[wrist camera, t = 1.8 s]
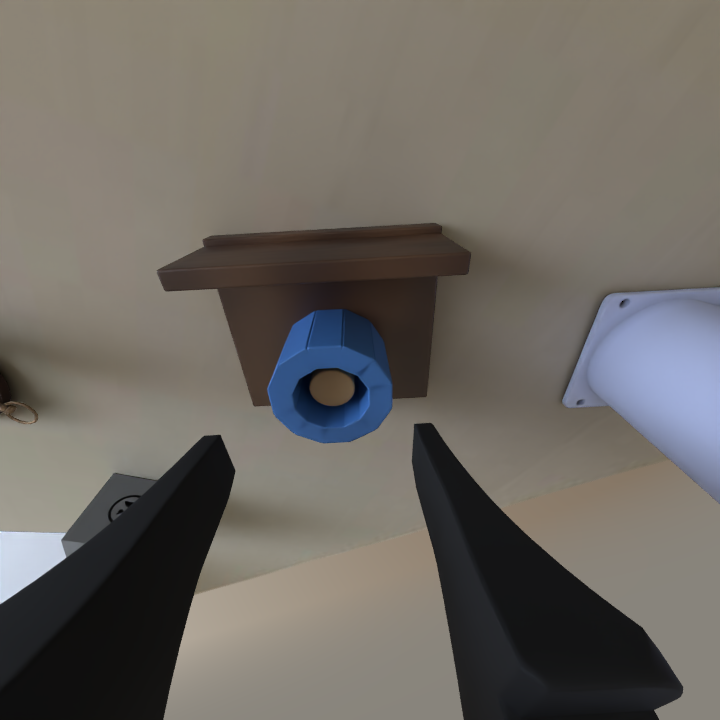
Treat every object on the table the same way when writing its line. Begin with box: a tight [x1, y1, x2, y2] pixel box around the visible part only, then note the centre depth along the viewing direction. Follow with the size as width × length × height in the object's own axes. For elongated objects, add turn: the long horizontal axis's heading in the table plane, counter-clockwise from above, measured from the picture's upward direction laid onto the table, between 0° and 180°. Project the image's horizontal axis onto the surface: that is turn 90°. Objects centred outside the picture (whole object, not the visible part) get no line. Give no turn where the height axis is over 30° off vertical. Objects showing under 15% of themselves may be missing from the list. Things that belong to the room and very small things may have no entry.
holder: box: [157, 223, 471, 406], centre depth 15 cm, size 11×10×5 cm
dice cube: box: [61, 474, 157, 557], centre depth 23 cm, size 5×5×5 cm
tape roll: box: [267, 309, 393, 443], centre depth 15 cm, size 6×6×4 cm
